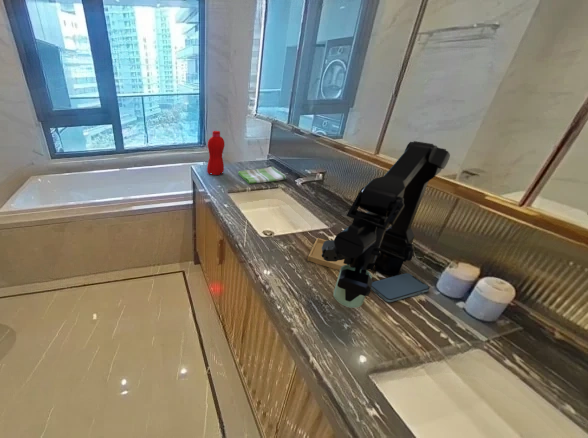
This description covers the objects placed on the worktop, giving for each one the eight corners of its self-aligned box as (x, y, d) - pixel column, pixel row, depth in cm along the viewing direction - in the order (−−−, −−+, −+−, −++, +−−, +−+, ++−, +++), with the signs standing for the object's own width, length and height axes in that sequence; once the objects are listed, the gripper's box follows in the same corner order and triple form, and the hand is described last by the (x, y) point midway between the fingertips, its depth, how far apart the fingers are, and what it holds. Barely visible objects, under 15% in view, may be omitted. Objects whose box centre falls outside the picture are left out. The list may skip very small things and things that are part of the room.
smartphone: (367, 282, 83) (407, 271, 86) (365, 286, 84) (406, 275, 87) (389, 300, 77) (432, 287, 80) (387, 304, 78) (429, 292, 81)
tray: (362, 254, 97) (363, 250, 96) (357, 276, 88) (359, 271, 87) (316, 242, 105) (317, 237, 104) (307, 260, 95) (308, 256, 94)
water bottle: (225, 170, 176) (227, 129, 164) (220, 176, 167) (221, 133, 155) (211, 169, 179) (212, 128, 167) (205, 174, 170) (205, 132, 158)
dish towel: (286, 180, 160) (287, 174, 158) (249, 184, 155) (249, 178, 153) (272, 171, 175) (272, 165, 173) (237, 174, 170) (237, 169, 168)
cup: (364, 294, 73) (372, 270, 69) (361, 311, 68) (370, 286, 64) (335, 285, 76) (342, 261, 72) (331, 301, 71) (338, 276, 67)
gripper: (335, 214, 74) (323, 262, 82) (320, 248, 61) (307, 302, 68) (384, 225, 69) (366, 275, 77) (380, 265, 55) (359, 322, 63)
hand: (349, 291), depth 71 cm, fingers closed on cup, 7 cm apart
